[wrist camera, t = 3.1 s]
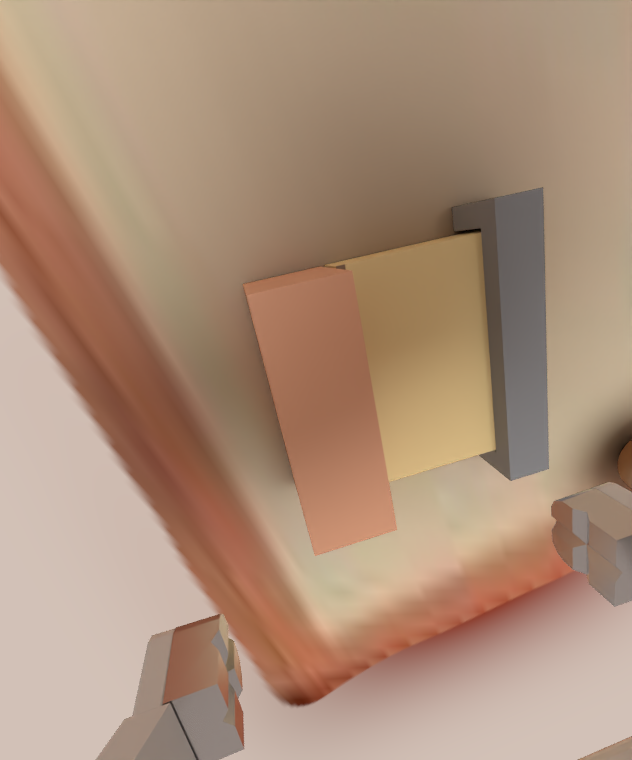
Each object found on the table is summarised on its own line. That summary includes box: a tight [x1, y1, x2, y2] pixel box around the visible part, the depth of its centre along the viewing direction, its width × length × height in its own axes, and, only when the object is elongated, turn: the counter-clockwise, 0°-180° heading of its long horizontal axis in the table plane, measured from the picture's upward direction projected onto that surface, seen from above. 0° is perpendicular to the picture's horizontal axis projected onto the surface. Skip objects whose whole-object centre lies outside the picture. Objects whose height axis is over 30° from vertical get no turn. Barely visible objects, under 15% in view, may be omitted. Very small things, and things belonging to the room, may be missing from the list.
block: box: [243, 266, 397, 556], centre depth 20 cm, size 4×12×6 cm, turn 12°
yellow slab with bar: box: [324, 187, 549, 482], centre depth 22 cm, size 10×15×4 cm
